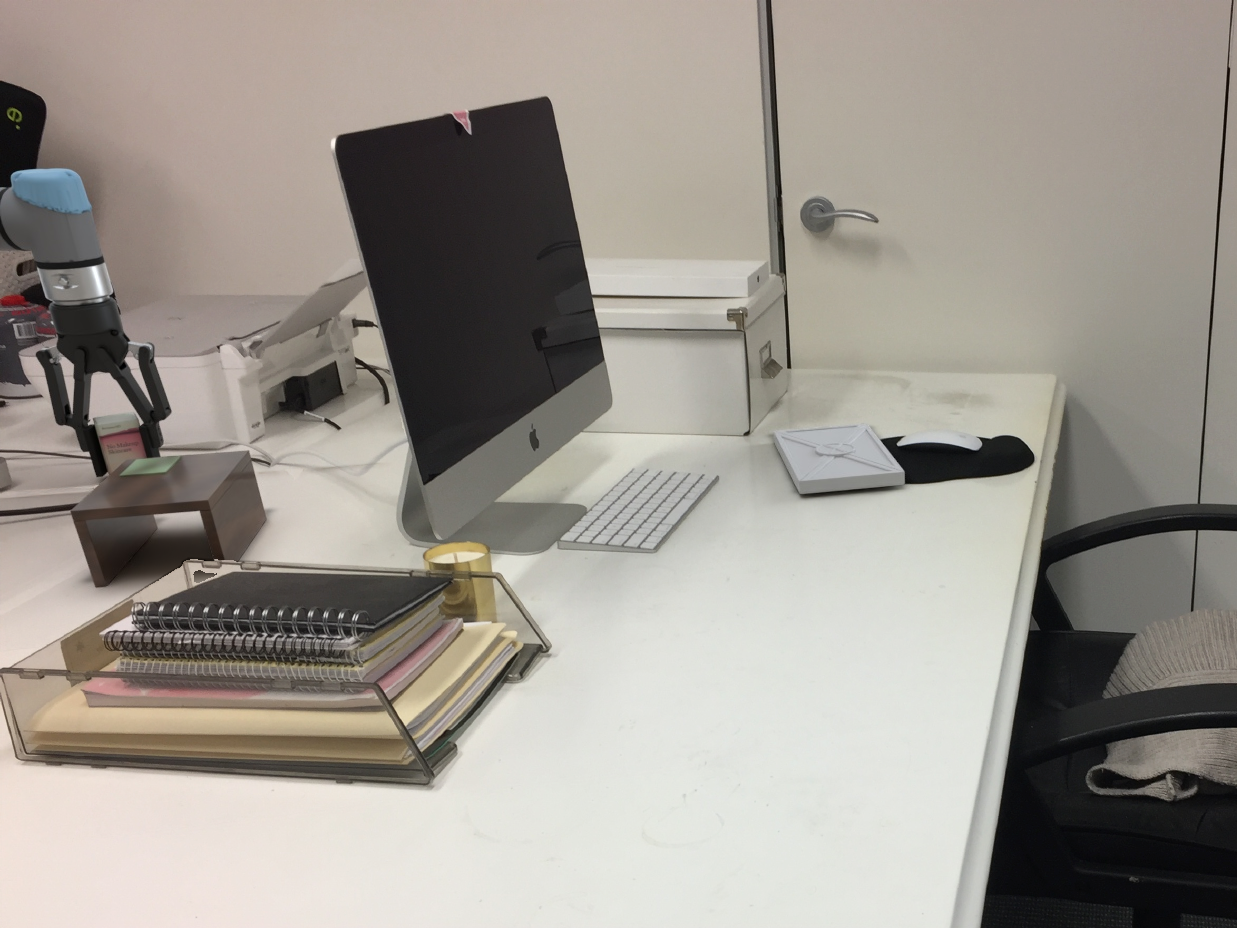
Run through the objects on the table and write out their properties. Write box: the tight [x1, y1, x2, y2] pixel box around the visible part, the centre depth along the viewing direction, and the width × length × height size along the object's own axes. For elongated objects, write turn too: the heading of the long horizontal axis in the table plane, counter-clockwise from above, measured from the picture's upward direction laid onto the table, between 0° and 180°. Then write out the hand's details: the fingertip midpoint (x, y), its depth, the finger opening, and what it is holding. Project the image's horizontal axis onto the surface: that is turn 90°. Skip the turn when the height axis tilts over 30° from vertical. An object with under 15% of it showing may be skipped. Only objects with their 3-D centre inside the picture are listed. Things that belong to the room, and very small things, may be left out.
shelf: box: [69, 449, 268, 588], centre depth 144 cm, size 14×18×9 cm
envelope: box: [772, 422, 906, 495], centre depth 168 cm, size 24×2×14 cm
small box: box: [92, 411, 147, 476], centre depth 166 cm, size 5×4×8 cm
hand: (130, 471), depth 168 cm, fingers closed on small box, 6 cm apart
